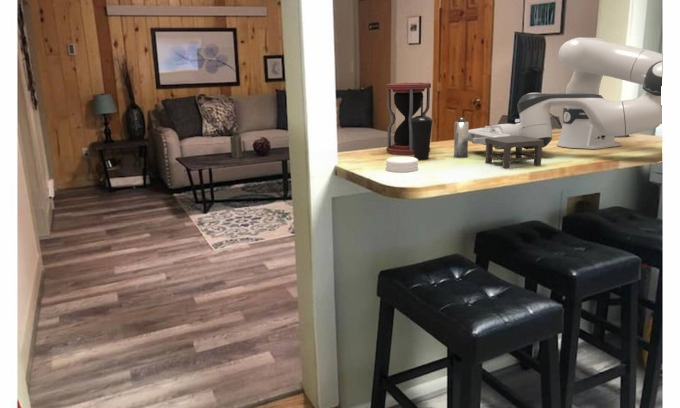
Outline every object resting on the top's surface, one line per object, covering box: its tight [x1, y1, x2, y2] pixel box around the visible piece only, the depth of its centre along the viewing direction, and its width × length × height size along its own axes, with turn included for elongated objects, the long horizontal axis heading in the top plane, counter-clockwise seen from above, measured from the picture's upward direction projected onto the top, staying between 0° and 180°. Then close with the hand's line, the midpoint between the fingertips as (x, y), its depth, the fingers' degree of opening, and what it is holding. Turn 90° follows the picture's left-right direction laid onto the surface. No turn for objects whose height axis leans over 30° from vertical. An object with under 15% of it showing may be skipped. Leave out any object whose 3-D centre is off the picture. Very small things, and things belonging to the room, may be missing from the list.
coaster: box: [385, 155, 419, 173], centre depth 163 cm, size 10×10×4 cm
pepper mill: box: [453, 117, 470, 159], centre depth 180 cm, size 5×5×14 cm
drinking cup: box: [410, 99, 434, 161], centre depth 178 cm, size 8×8×20 cm
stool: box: [485, 136, 544, 170], centre depth 165 cm, size 13×12×8 cm
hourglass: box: [386, 82, 432, 156], centre depth 192 cm, size 16×16×25 cm
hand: (466, 139), depth 180 cm, fingers open, 8 cm apart
